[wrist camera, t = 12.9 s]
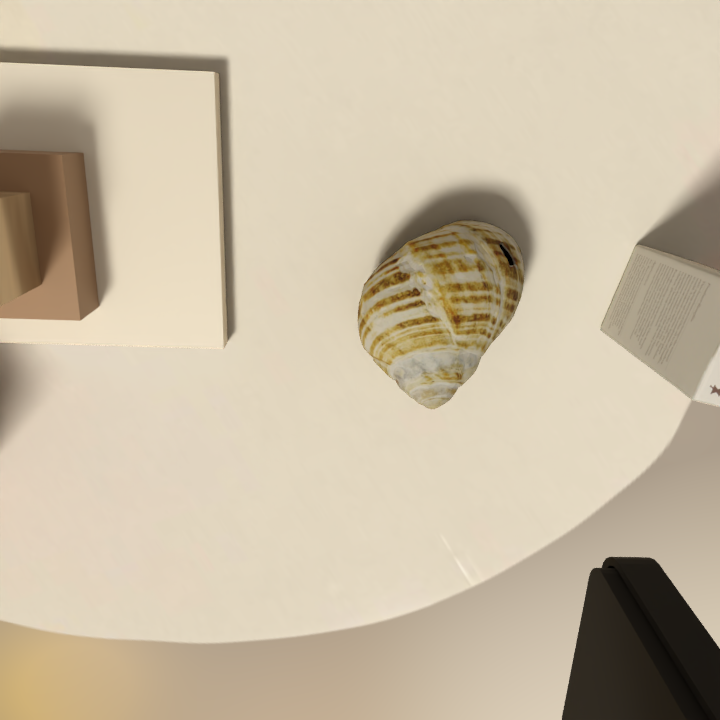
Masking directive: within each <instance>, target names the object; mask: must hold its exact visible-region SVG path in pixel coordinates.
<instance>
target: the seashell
mask: <svg viewBox="0 0 720 720" xmlns="http://www.w3.org/2000/svg"><path fill="white" fill-rule="evenodd" d="M500 244H501V245H503V247H504V248H505V249H506V250H507V252H508V253H509V255H510V256H511V258H512V259H513V263H514V265H513V266H511V265H509V263H508V260H507V258H506V257H505V256H504V254H503V251H502V250H501V248H500V246H499V245H500ZM523 282H524V264H523V259H522V255H521V251H520V248H519V247H518V245H517V243H516V241H515V240H514V239H513V238H512V237H511V236H510V235H509V234H508V233H506V232H505V231H504V230H502V229H500V228H498V227H496V226H493V225H491V224H488V223H485V222H479V221H473V220H460V221H456V222H453V223H451V224H448V225H444V226H442V227H440V228H439V229H437V230H435V231H432V232H429V233H427V234H424V235H422V236H419V237H418V238H416V239H413V240H411V241H408V242H407V243H405V244H404V246H403V247H402V248H401V249H400V250H398V251H397V252H396V253H394V254H393V255H392V256H391V257H389V258H388V259H387V260H385V261H384V262H383V263H382V264H380V265H379V267H378V268H377V269H376V270H375V271H374V272H373V273H372V275H371V276H370V277H369V279H368V280H367V282H366V283H365V284H364V287H363V291H362V296H361V299H360V302H359V310H358V328H359V334H360V339H361V342H362V345H363V347H364V349H365V350H366V351H367V352H368V353H369V354H370V355H371V356H372V357H373V360H374V361H375V362H376V364H377V365H378V366H379V367H380V368H381V369H382V370H383V371H384V372H385V373H386V374H387V375H388V376H389V377H390V378H392V379H393V380H395V381H396V382H397V384H398V386H399V387H400V388H401V389H402V390H403V391H404V392H405V393H407V394H408V395H409V396H410V397H411V398H413V399H414V400H415V401H416V402H418V403H419V404H421V405H424V406H425V407H427V408H429V409H435V408H438V407H439V406H441V405H443V404H445V403H446V402H447V401H449V400H450V399H451V398H452V397H453V395H454V394H455V392H456V390H457V389H458V387H460V386H462V384H464V383H465V382H466V381H467V380H468V379H469V378H470V377H471V376H472V375H473V374H474V372H475V371H476V369H477V367H478V364H479V362H480V359H481V356H483V354H484V353H485V352H486V350H487V349H488V347H489V346H490V344H491V343H492V342H493V341H494V340H495V339H496V338H497V337H498V336H499V334H500V333H501V332H502V331H503V329H504V328H505V327H506V326H507V324H508V323H509V322H510V321H511V319H512V317H513V316H514V314H515V311H516V309H517V306H518V304H519V301H520V298H521V294H522V290H523Z"/></svg>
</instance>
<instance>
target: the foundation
mask: <svg viewBox="0 0 720 720" xmlns="http://www.w3.org/2000/svg"><path fill="white" fill-rule="evenodd" d="M0 191H6V192H30V199H31V206H32V214H33V222H34V230H35V237H36V245H37V253H38V260H39V268H40V276H41V284H42V285H40V286H38V287H36V288H34V289H32V290H31V291H29V292H27V293H25V294H23V295H21V296H19V297H17V298H15V299H13V300H12V301H10V302H8V303H6V304H4V305H2V306H0V343H35V344H70V345H104V346H139V347H174V348H209V349H224V347H225V346H226V344H227V342H228V335H227V304H226V273H225V242H224V211H223V180H222V149H221V118H220V88H219V74H218V73H216V72H210V71H187V70H164V69H141V68H119V67H96V66H73V65H51V64H28V63H5V62H0Z"/></svg>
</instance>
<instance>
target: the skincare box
mask: <svg viewBox="0 0 720 720" xmlns="http://www.w3.org/2000/svg"><path fill="white" fill-rule="evenodd" d="M600 330H601V331H602V332H603V333H605V334H606V335H607V336H609V337H610V338H611V339H613V340H614V341H615V342H617V343H618V344H619V345H620V346H622V347H623V348H625V349H626V350H627V351H628V352H630V353H631V354H632V355H634V356H635V357H636V358H638V359H639V360H640V361H642V362H643V363H644V364H646V365H647V366H648V367H650V368H651V369H652V370H654V371H655V372H656V373H657V374H659V375H660V376H661V377H663V378H664V379H665V380H667V381H668V382H670V383H671V384H672V385H674V386H675V387H676V388H678V389H679V390H680V391H681V392H683V393H684V394H685V395H686V396H688V397H689V398H690V399H691V400H693V401H697V402H701V403H705V404H709V405H713V406H717V407H720V271H719V270H716V269H713V268H710V267H708V266H705V265H702V264H700V263H697V262H694V261H691V260H688V259H685V258H682V257H679V256H675V255H672V254H669V253H666V252H662V251H659V250H656V249H653V248H650V247H646V246H643V245H636V246H635V249H634V251H633V254H632V256H631V258H630V261H629V263H628V265H627V268H626V270H625V272H624V275H623V277H622V279H621V282H620V284H619V286H618V289H617V291H616V293H615V296H614V298H613V300H612V303H611V305H610V307H609V310H608V312H607V314H606V317H605V319H604V321H603V324H602V326H601V329H600Z"/></svg>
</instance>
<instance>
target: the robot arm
mask: <svg viewBox="0 0 720 720" xmlns="http://www.w3.org/2000/svg"><path fill="white" fill-rule="evenodd" d="M562 720H720V649H719V647H718V646H717V644H716V643H715V642H714V640H713V639H712V637H711V636H710V635H709V633H708V632H707V630H706V629H705V628H704V626H703V625H702V623H701V622H700V621H699V619H698V618H697V617H696V615H695V614H694V612H693V611H692V610H691V608H690V607H689V605H688V604H687V603H686V601H685V600H684V599H683V597H682V596H681V594H680V593H679V592H678V590H677V589H676V587H675V586H674V585H673V583H672V582H671V580H670V579H669V578H668V576H667V575H666V573H665V572H664V571H663V569H662V568H661V567H660V565H659V564H658V563H657V562H656V561H655V560H654V559H652V558H641V557H609V558H606V560H605V561H604V563H603V565H602V568H594V569H593V570H592V571H591V573H590V576H589V581H588V586H587V591H586V597H585V602H584V607H583V612H582V617H581V622H580V627H579V632H578V638H577V643H576V648H575V653H574V658H573V664H572V669H571V674H570V679H569V684H568V690H567V695H566V700H565V706H564V710H563V715H562Z"/></svg>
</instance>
